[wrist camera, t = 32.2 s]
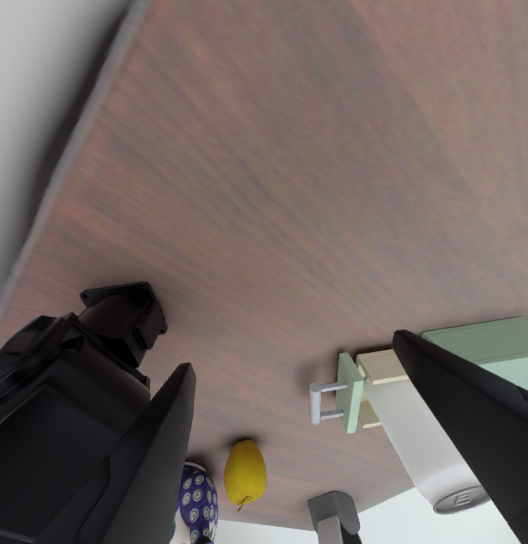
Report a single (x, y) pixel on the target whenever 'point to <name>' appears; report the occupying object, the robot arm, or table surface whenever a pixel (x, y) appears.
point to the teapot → (195, 508)
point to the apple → (245, 473)
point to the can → (425, 448)
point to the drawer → (356, 388)
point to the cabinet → (490, 346)
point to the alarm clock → (335, 518)
